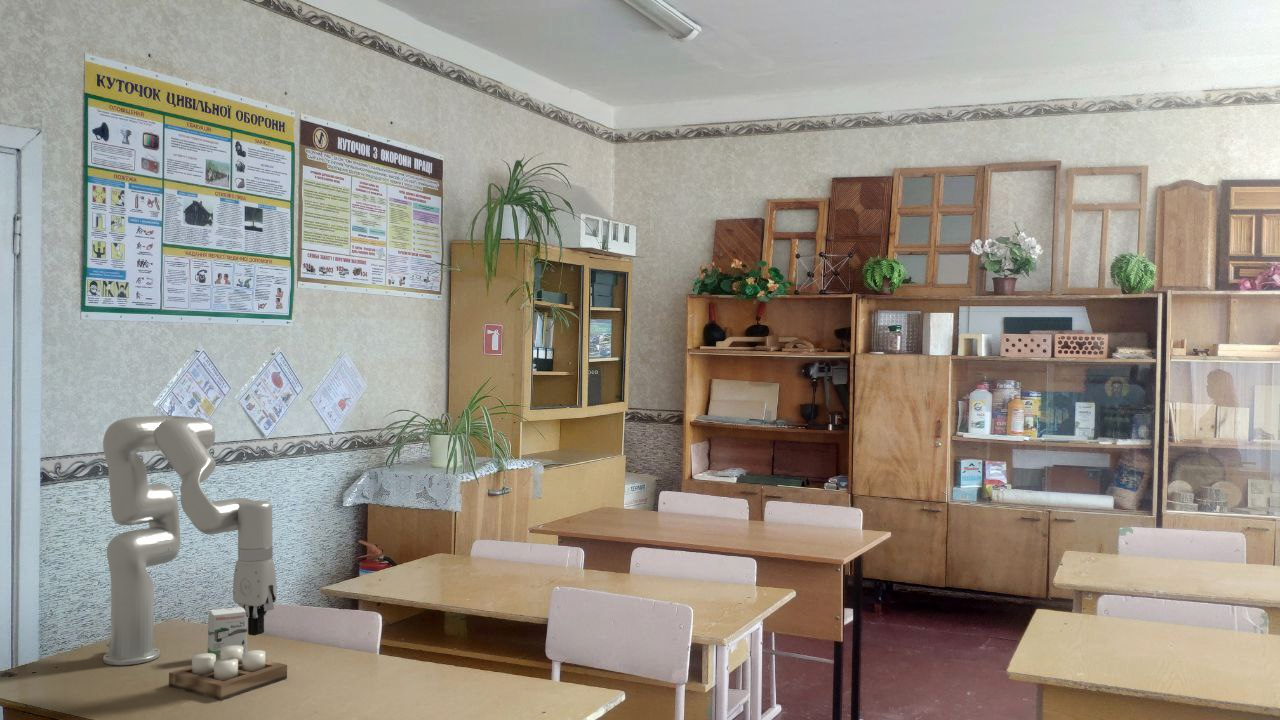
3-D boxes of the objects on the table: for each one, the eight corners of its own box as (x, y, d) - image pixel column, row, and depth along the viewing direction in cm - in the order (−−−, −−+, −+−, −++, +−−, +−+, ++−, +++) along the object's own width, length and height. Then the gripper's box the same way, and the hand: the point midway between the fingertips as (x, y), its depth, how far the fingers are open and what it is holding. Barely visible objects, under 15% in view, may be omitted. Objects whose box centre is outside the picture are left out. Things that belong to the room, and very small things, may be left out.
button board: (168, 686, 231) (168, 672, 231) (235, 666, 247) (235, 653, 247) (221, 700, 222) (221, 685, 222) (287, 678, 238) (287, 664, 238)
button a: (187, 672, 232) (187, 657, 232) (206, 667, 236) (206, 652, 236) (201, 676, 230) (201, 660, 230) (220, 670, 234) (220, 655, 234)
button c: (209, 678, 228) (209, 662, 228) (227, 672, 233) (228, 657, 233) (223, 681, 226) (224, 666, 226) (242, 675, 230) (242, 660, 230)
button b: (215, 664, 239) (215, 649, 239) (233, 658, 243) (233, 644, 243) (229, 667, 236) (230, 652, 236) (247, 662, 241) (247, 647, 241)
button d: (237, 669, 235) (237, 654, 235) (255, 663, 239) (255, 649, 239) (252, 672, 232) (252, 657, 232) (269, 667, 237) (270, 652, 237)
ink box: (211, 662, 250) (211, 614, 250) (207, 657, 254) (207, 610, 254) (247, 657, 254) (248, 610, 254) (243, 652, 259) (243, 606, 259)
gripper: (220, 554, 236) (220, 633, 236) (264, 559, 229) (265, 641, 229) (247, 549, 243) (247, 626, 243) (290, 554, 235) (291, 634, 235)
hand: (256, 633), depth 236 cm, fingers closed
